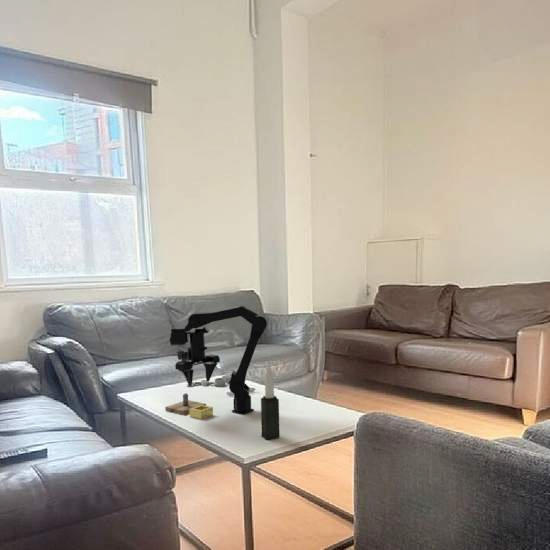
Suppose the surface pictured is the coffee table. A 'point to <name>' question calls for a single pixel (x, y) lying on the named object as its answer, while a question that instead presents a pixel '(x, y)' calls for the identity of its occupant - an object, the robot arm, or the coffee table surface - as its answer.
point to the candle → (270, 408)
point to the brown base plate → (183, 406)
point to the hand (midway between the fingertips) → (199, 383)
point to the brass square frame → (201, 411)
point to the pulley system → (218, 382)
